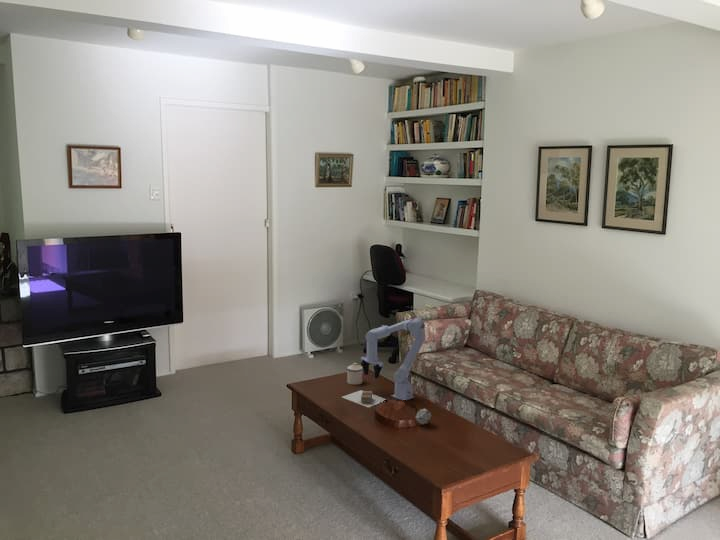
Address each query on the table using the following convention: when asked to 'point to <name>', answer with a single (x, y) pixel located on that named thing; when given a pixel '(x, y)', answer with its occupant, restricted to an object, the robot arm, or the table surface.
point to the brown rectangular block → (366, 397)
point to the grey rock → (423, 416)
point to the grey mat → (357, 398)
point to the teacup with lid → (354, 374)
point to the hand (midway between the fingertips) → (371, 376)
